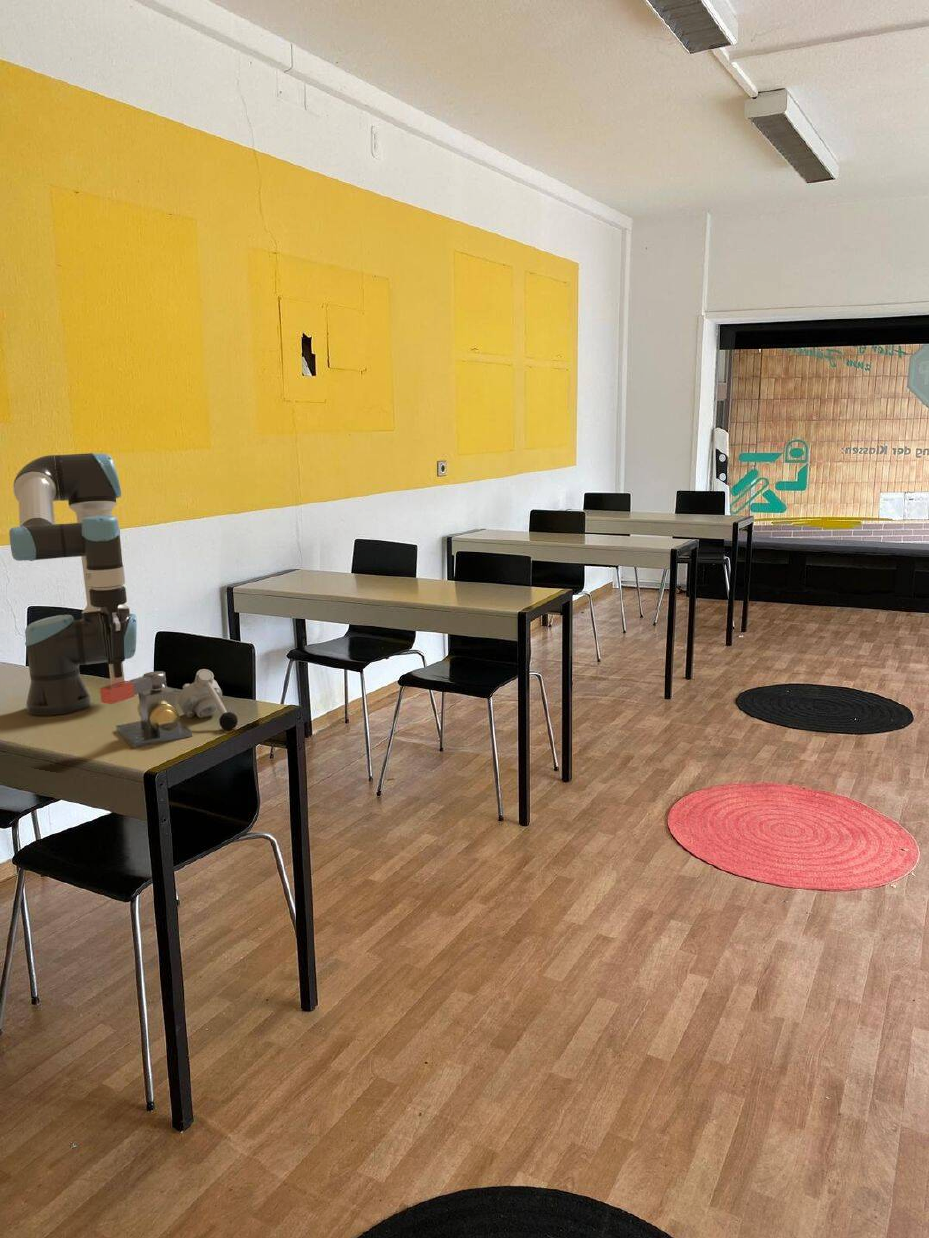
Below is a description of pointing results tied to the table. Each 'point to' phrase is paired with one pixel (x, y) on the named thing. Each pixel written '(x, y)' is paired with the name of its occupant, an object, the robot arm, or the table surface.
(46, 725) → the table surface
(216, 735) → the table surface
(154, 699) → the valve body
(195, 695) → the mechanical valve
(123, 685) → the lever
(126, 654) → the robot arm
